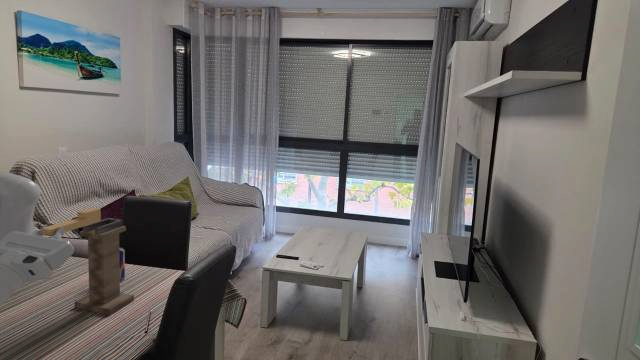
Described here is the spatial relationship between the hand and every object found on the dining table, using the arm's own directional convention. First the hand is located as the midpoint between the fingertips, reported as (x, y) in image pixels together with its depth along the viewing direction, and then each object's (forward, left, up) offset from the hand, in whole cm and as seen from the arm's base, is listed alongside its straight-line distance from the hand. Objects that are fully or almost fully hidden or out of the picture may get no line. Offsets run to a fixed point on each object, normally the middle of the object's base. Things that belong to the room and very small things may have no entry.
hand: (56, 227), depth 115 cm
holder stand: (0, +18, -32) cm, 37 cm away
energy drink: (-10, +36, -32) cm, 49 cm away
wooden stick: (0, +6, -1) cm, 6 cm away
